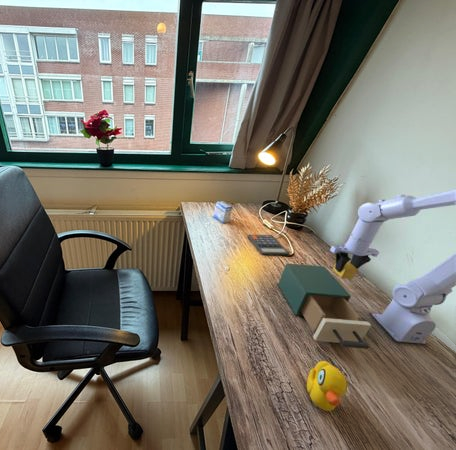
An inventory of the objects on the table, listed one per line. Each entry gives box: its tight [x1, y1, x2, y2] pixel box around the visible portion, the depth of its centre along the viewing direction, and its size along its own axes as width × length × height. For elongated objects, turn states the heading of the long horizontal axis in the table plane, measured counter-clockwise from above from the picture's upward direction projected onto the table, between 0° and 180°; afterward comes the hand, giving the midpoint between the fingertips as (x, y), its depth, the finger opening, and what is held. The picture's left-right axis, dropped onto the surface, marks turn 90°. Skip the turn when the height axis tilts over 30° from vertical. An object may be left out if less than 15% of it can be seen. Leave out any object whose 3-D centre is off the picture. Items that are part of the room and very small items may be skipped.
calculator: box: [247, 234, 290, 256], centre depth 108 cm, size 12×1×15 cm
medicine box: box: [213, 200, 233, 224], centre depth 127 cm, size 8×4×9 cm, turn 25°
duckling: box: [306, 360, 348, 412], centre depth 50 cm, size 11×5×10 cm, turn 151°
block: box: [332, 260, 358, 280], centre depth 86 cm, size 5×4×4 cm
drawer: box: [301, 295, 372, 349], centre depth 66 cm, size 17×11×7 cm
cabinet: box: [278, 263, 352, 317], centre depth 77 cm, size 14×13×9 cm
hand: (344, 270), depth 86 cm, fingers closed on block, 4 cm apart
